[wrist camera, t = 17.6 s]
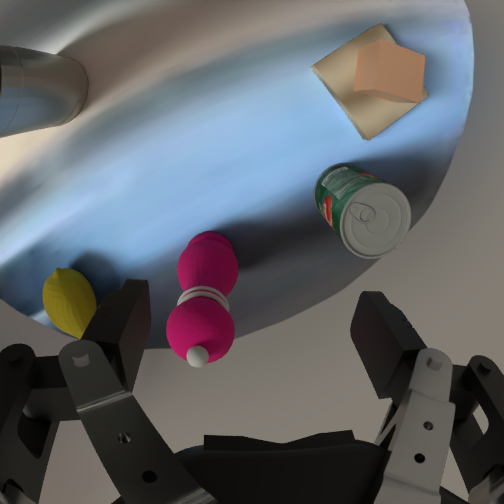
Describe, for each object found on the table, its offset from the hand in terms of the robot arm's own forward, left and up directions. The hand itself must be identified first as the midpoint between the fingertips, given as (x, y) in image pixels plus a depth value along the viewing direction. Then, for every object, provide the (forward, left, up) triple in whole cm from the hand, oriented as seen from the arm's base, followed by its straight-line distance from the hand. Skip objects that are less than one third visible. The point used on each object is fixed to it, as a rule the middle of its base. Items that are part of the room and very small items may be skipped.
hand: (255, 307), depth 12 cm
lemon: (-3, -29, -28) cm, 41 cm away
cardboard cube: (+1, +20, -26) cm, 33 cm away
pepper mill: (+6, -10, -28) cm, 31 cm away
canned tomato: (+11, +8, -28) cm, 31 cm away
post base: (+1, +20, -28) cm, 34 cm away
